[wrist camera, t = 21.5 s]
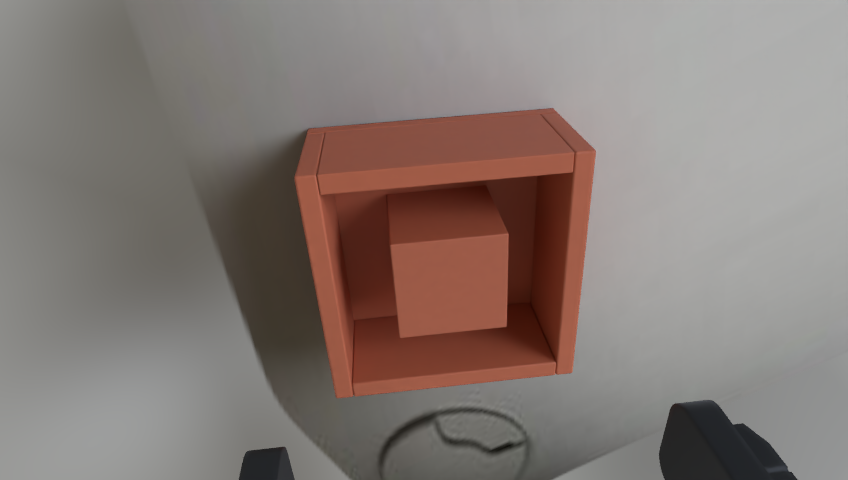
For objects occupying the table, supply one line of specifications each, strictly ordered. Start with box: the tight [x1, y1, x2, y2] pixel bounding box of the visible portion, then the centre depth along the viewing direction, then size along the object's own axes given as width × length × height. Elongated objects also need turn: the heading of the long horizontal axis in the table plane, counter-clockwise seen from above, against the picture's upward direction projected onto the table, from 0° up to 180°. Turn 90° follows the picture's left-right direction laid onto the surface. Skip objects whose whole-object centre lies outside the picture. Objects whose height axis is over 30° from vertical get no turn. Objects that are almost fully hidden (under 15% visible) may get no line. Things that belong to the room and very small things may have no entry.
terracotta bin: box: [294, 108, 596, 398], centre depth 21 cm, size 9×9×5 cm
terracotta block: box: [386, 185, 509, 338], centre depth 21 cm, size 4×4×4 cm
